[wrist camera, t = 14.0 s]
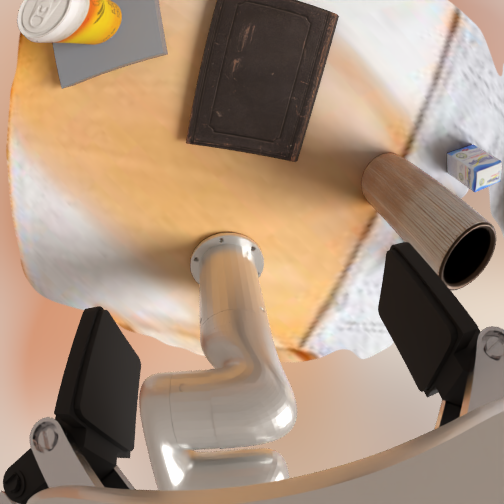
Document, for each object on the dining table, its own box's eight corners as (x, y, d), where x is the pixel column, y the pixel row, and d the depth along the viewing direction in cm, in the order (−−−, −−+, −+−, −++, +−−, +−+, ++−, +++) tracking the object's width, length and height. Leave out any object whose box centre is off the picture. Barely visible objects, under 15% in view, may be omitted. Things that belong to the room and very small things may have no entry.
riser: (167, 54, 32) (163, 53, 29) (73, 85, 32) (61, 88, 28) (153, -32, 24) (148, -41, 21) (59, 3, 23) (46, 0, 20)
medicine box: (472, 143, 44) (502, 160, 37) (472, 163, 47) (501, 182, 40) (445, 152, 45) (476, 171, 38) (446, 173, 48) (475, 193, 41)
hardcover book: (186, 139, 40) (185, 143, 38) (221, -13, 28) (222, -17, 26) (294, 157, 44) (298, 162, 42) (334, 17, 31) (340, 15, 30)
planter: (374, 144, 43) (470, 213, 25) (417, 163, 46) (507, 233, 28) (351, 197, 48) (425, 288, 30) (394, 211, 51) (468, 294, 33)
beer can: (133, 10, 25) (89, -16, 13) (106, 51, 27) (50, 51, 15) (95, -5, 22) (37, -30, 10) (70, 36, 25) (3, 33, 12)
